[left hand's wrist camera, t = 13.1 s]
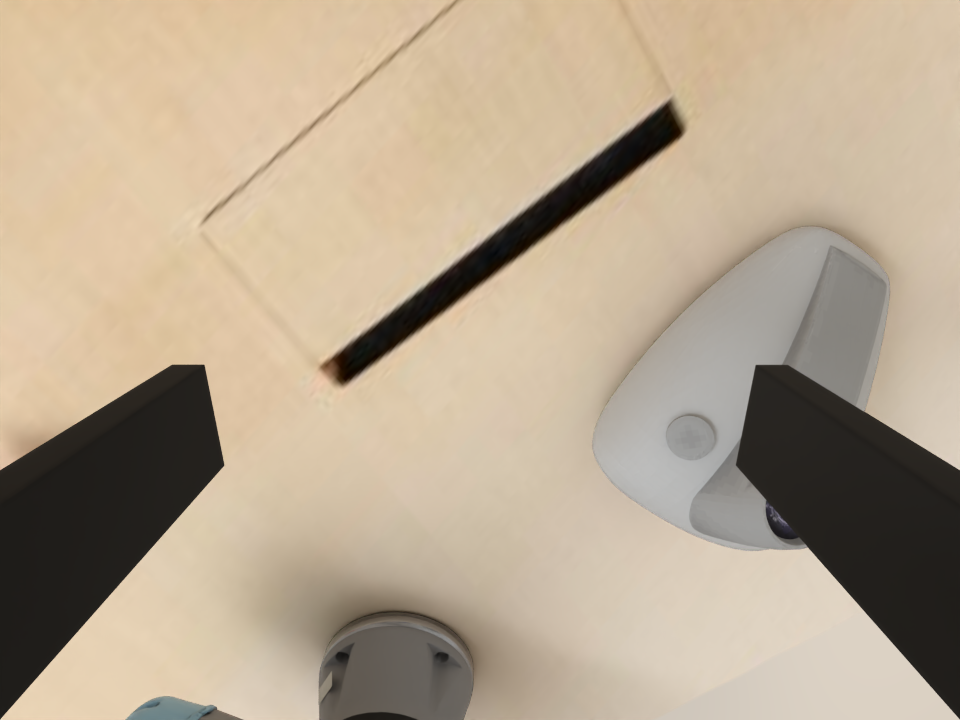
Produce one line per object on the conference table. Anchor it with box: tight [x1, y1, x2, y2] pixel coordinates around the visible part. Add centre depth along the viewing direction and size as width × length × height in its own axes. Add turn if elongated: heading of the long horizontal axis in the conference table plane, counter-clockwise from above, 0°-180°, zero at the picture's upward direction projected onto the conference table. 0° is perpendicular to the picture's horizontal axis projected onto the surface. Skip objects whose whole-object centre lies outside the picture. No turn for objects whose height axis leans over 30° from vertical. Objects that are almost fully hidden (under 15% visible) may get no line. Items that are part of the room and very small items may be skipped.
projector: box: [592, 226, 890, 551], centre depth 34 cm, size 22×23×15 cm
